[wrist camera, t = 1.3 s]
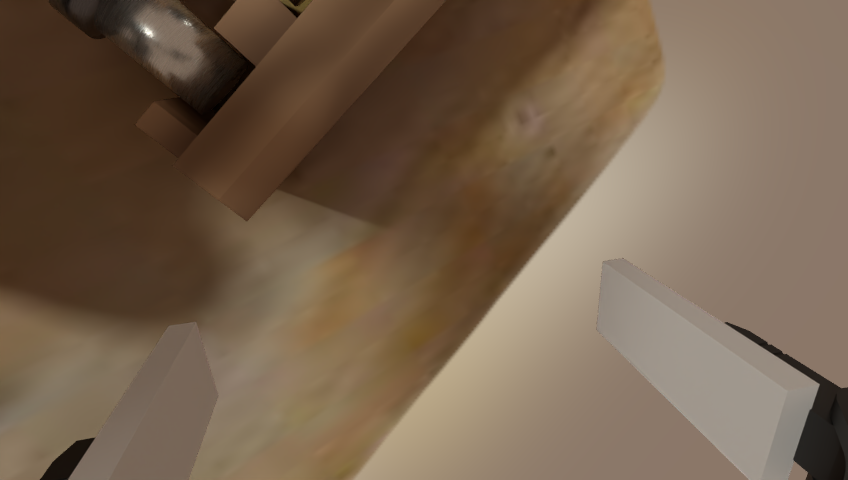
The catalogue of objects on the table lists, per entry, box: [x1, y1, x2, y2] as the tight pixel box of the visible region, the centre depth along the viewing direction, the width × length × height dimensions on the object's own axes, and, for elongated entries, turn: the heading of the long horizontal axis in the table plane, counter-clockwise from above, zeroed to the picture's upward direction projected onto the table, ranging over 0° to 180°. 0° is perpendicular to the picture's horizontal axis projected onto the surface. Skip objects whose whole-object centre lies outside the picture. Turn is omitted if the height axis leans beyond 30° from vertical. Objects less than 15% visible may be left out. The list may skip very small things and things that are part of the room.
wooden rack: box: [135, 0, 446, 221], centre depth 27 cm, size 8×27×9 cm, turn 136°
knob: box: [49, 0, 248, 115], centre depth 26 cm, size 9×6×6 cm, turn 46°
